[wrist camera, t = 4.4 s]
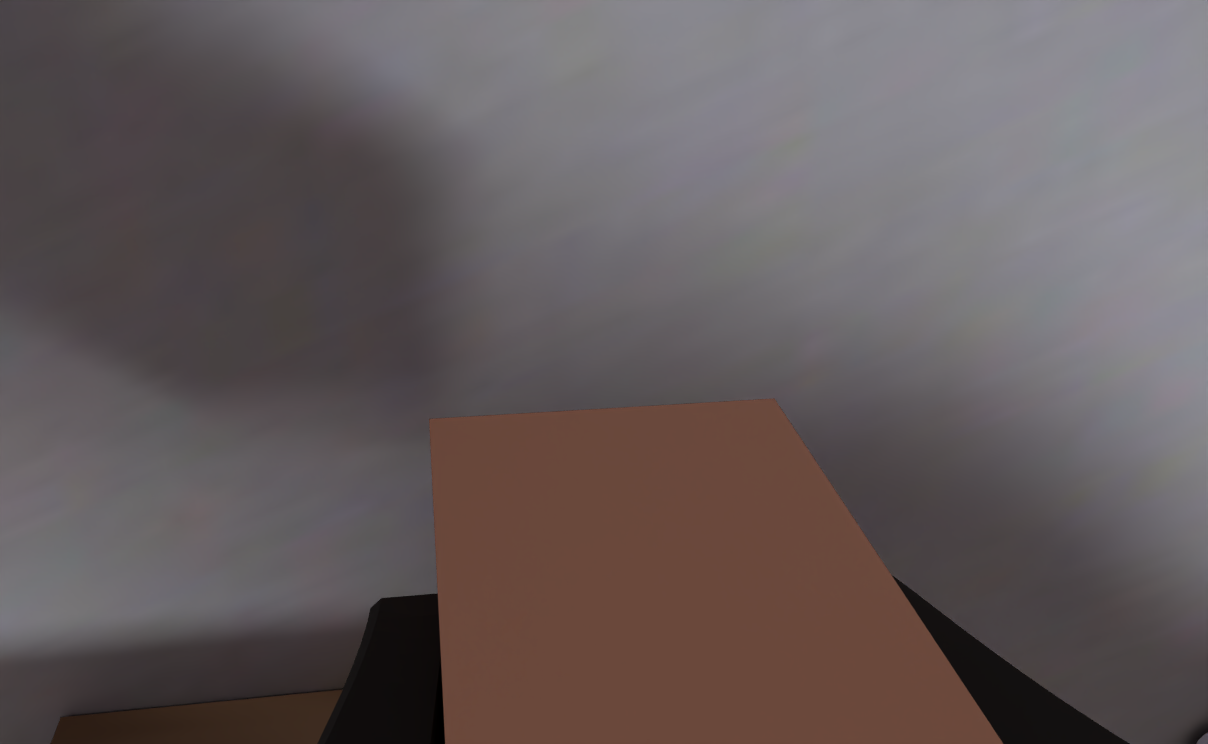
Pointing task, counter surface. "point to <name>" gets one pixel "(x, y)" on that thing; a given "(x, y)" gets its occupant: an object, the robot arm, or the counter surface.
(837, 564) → the terracotta block
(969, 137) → the counter surface
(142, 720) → the walnut base
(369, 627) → the robot arm
